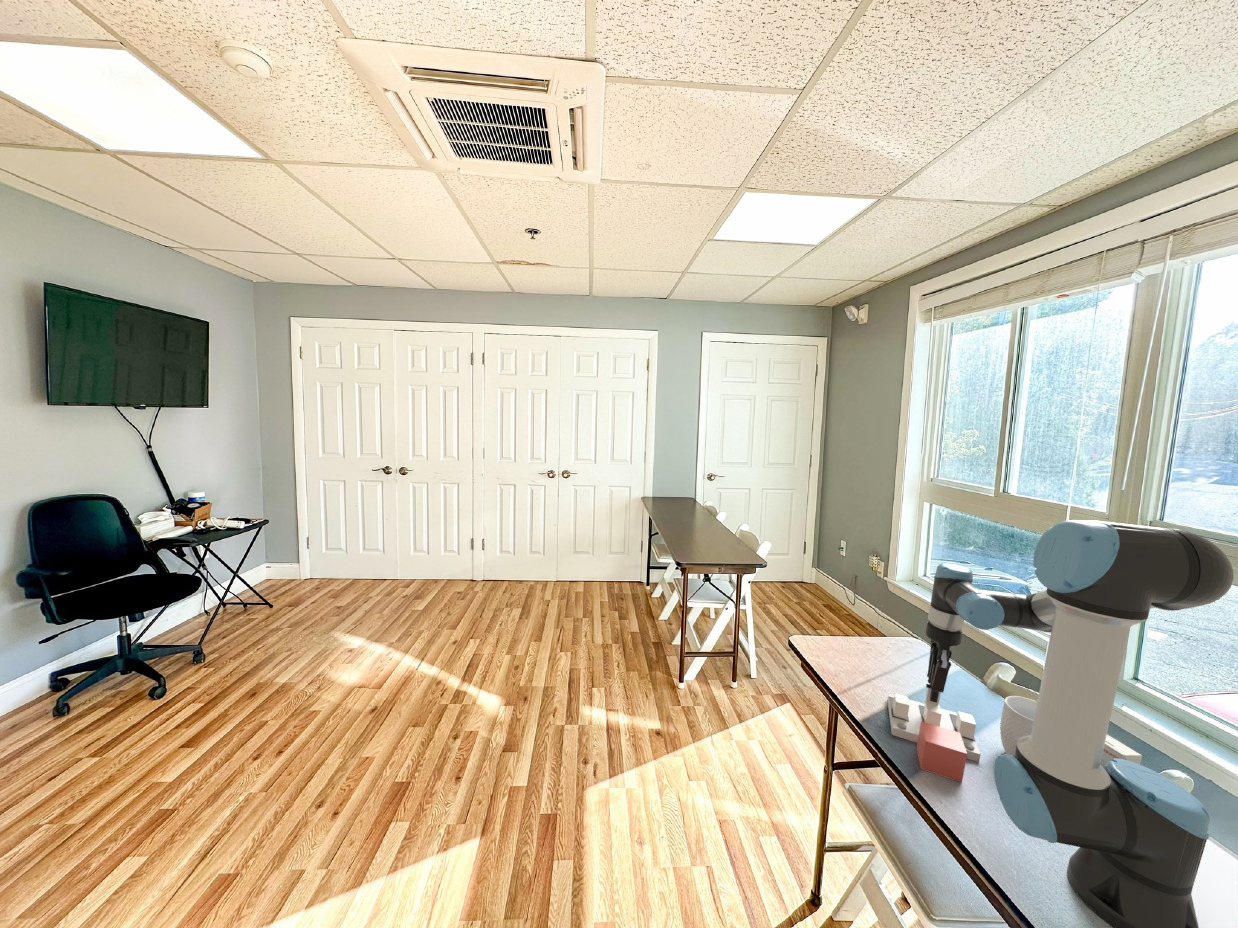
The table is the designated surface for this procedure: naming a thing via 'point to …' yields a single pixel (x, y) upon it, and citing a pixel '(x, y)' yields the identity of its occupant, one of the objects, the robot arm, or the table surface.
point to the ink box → (1118, 752)
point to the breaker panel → (915, 716)
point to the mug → (1016, 721)
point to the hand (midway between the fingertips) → (930, 710)
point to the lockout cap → (941, 751)
